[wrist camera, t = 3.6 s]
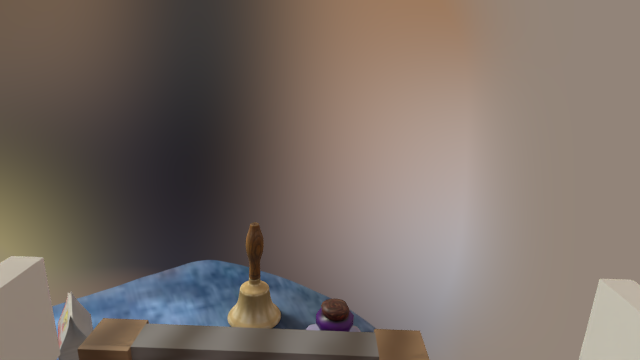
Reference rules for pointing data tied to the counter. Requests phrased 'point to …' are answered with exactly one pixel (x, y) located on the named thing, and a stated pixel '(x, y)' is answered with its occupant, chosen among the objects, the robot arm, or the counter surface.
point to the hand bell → (254, 291)
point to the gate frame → (244, 343)
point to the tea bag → (73, 328)
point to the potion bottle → (334, 317)
